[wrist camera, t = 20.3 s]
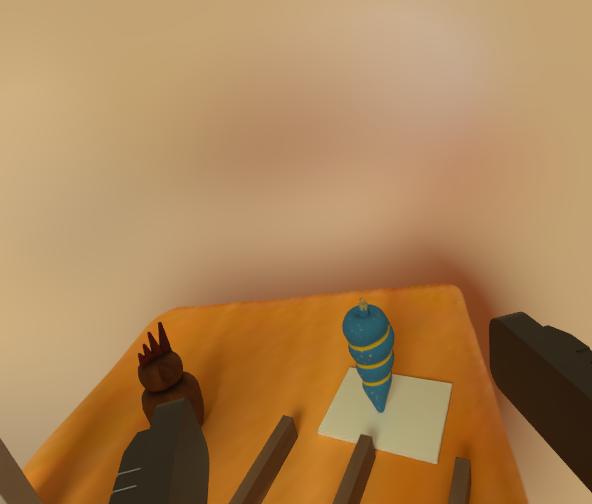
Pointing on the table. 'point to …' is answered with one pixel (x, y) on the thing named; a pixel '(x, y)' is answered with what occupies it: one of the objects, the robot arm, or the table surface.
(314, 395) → the table surface
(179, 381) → the wooden figurine
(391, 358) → the ornament
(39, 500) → the vintage mobile phone
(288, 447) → the lane rack
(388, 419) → the pad
